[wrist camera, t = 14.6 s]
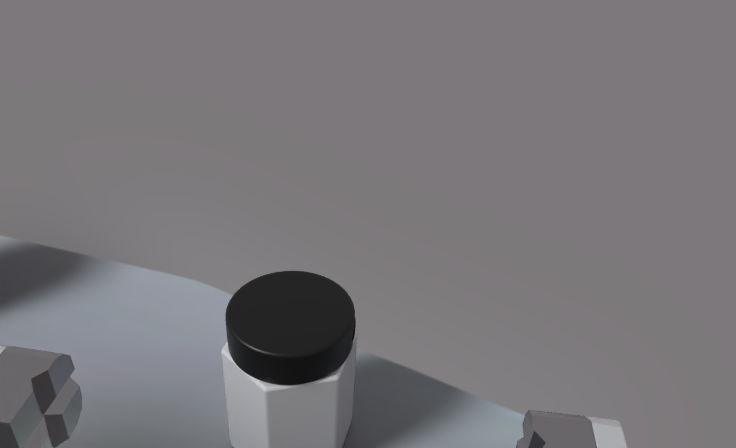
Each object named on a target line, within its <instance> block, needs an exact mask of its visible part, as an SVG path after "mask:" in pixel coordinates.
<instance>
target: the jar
mask: <svg viewBox="0 0 736 448" xmlns="http://www.w3.org/2000/svg"><path fill="white" fill-rule="evenodd" d="M226 329H227V342H226V344H225V345H224V347H223V349H222V351H221V353H222V364H223V374H224V384H225V395H226V405H227V416H228V426H229V437H230V443H231V444H232V445H233V446H234V448H342V447H343V444H344V441H345V438H346V435H347V433H348V430H349V427H350V424H351V421H352V409H353V394H354V380H355V365H356V350H357V334H358V332H357V330H356V329H355V310H354V305H353V302H352V300H351V298H350V296H349V295H348V293H347V292H346V291H345V290H344V289H343V288H342V287H341V286H340V285H338V284H337V283H335V282H334V281H332V280H330V279H328V278H326V277H324V276H321V275H317V274H314V273H309V272H303V271H282V272H276V273H270V274H267V275H263V276H261V277H258V278H256V279H254V280H252V281H250V282H248V283H247V284H245V285H244V286H242V287H241V288H240V289H239V290H238V291H237V292H236V293H235V294H234V295H233V297H232V298H231V300H230V301H229V303H228V306H227V309H226Z"/></svg>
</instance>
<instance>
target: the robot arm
mask: <svg viewBox="0 0 736 448" xmlns="http://www.w3.org/2000/svg"><path fill="white" fill-rule="evenodd" d="M74 369H75V368H74V365H73V363H72V360H71V357H70V356H69V355H66V354H61V353H54V352H47V351H40V350H34V349H27V348H20V347H14V346H5V345H0V448H55V447H56V446H58V445H59V444H61V443H62V442H64V441H65V440H67V439H69V438H70V436H71V434H72V432H73V431H74V429H75V427H76V425H77V423H78V419H79V416H80V413H81V409H82V394H81V390H80V386H79V385H78V384H77V383H75V382H74V381H73V380H72V379H71V378H70V375H71V374H72V372H73V371H74ZM522 425H523V434H524V437H523V438H521V439H520V440H518V441H517V445H516V448H628V447H627V443H626V439H625V436H624V432H623V429H622V426H621V424H620V423H619V422H618V421H617V420H610V419H602V418H594V417H585V416H579V415H570V414H561V413H552V412H542V411H534V410H528V411H527V413H526V414H525V417H524V421H523V424H522Z"/></svg>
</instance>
